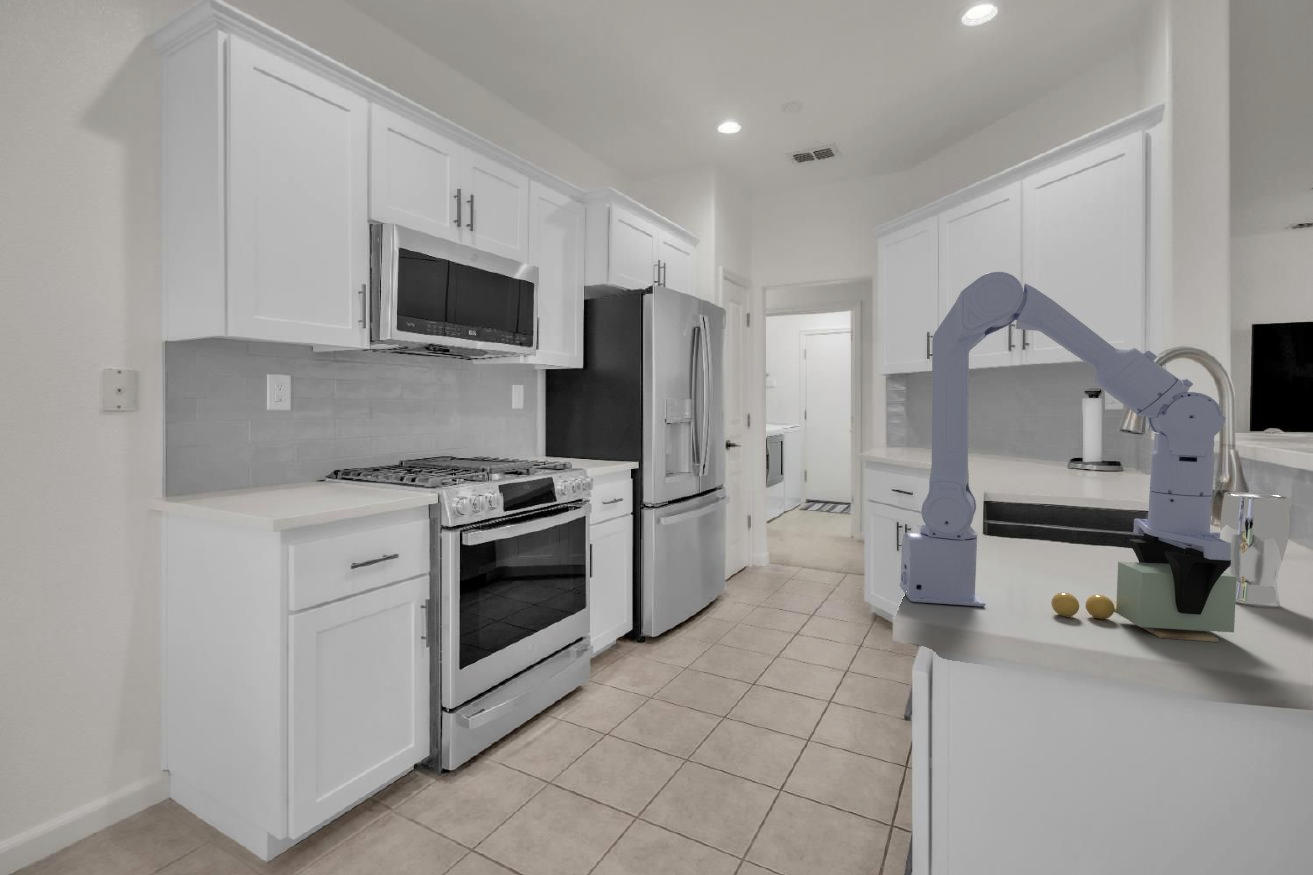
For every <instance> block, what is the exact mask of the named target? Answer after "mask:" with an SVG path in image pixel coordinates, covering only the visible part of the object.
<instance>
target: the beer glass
mask: <svg viewBox="0 0 1313 875" xmlns="http://www.w3.org/2000/svg"><path fill="white" fill-rule="evenodd" d="M1223 495H1224V496H1223V500H1222V501H1223V502H1222V508H1221V513H1220V526H1219V527H1220V530H1219V531H1220V539H1222V540H1223V541H1226V542H1229V543H1231V554H1230V560H1231V566H1230V567H1229V568H1228V569H1226V570H1225V571H1224V572H1225V573H1228V574H1231V575H1233V576H1236V577H1237V580H1236V601H1235V604H1239V605H1242V604H1243V605H1245V606H1248V607H1255V608H1265V609H1267V608H1268V609H1274V608H1279V607H1280V605H1281V601H1280V596H1279V591H1278V590H1279V589H1278V577H1279V571H1280V569H1281V565H1282V562H1283V559H1284V556H1285V553H1286V550H1287V546H1288V542H1289V538H1290V537H1289V536H1290V530H1291V529H1290V528H1291V525H1290V524H1291V514H1290V513H1291V512H1290V509H1291V508H1290V497H1288V496H1284V495H1280V494H1279V495H1277V494H1269V493H1261V492H1260V493H1259V492H1258V493H1257V492H1249V491H1248V492H1245V491H1244V492H1243V491H1226V492H1224V493H1223ZM1243 605H1242V606H1243Z"/></svg>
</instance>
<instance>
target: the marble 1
mask: <svg viewBox="0 0 1313 875" xmlns="http://www.w3.org/2000/svg"><path fill="white" fill-rule="evenodd" d="M1051 607H1052V610H1053V611H1054V612H1055V613H1057V614H1058V615H1059V616H1061V617H1066V618H1068V617H1072V616H1075V615H1077V613H1078V612H1079V610H1080V602H1079V600H1078V599H1077V597H1076V596H1075V595H1073V594H1071V593H1069V592H1066V591H1064V592H1059V593H1056V594H1055V595H1054V596H1053V597H1052V598H1051Z"/></svg>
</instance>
